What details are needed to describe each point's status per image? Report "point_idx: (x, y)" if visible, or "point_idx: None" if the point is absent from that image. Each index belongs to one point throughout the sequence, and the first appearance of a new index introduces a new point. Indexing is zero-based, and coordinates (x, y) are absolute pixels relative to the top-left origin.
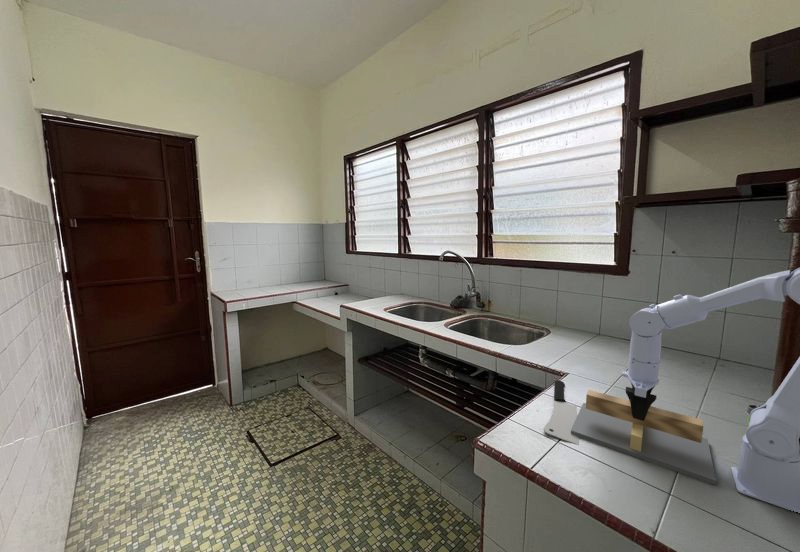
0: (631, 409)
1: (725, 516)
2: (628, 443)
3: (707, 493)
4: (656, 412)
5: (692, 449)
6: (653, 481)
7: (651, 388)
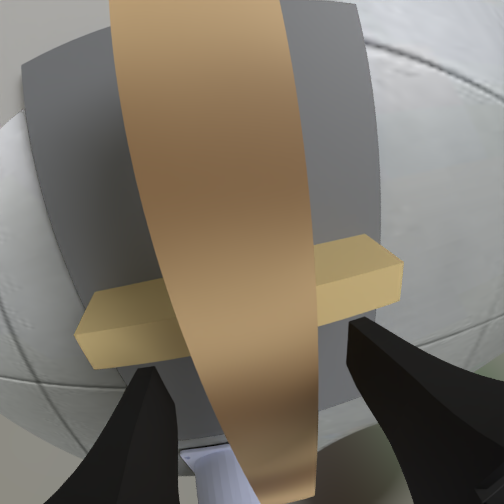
0: (114, 412)
1: (84, 438)
2: (124, 278)
3: None
4: (250, 457)
5: None
6: (39, 356)
7: (414, 488)
